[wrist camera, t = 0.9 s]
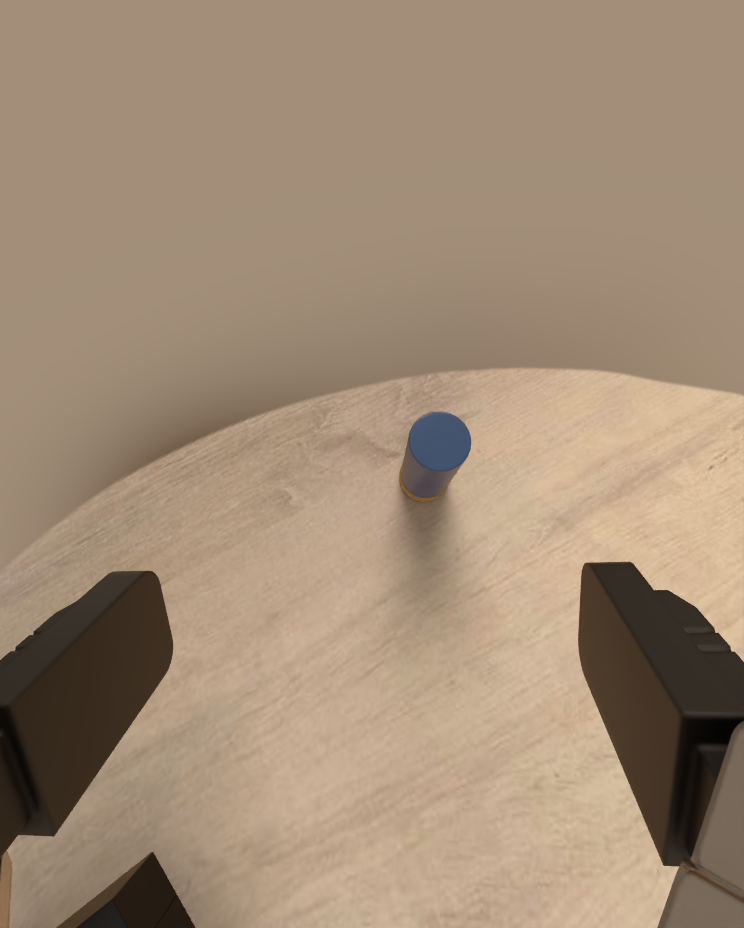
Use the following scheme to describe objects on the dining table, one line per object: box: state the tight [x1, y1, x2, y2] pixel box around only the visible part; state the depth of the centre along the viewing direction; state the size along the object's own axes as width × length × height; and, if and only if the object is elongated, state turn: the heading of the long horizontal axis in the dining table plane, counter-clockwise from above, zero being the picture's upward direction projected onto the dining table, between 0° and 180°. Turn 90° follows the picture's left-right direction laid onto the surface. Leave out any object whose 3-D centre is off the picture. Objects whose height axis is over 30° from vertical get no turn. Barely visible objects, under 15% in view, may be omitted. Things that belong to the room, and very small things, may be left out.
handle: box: [400, 412, 471, 502], centre depth 29 cm, size 3×3×8 cm
